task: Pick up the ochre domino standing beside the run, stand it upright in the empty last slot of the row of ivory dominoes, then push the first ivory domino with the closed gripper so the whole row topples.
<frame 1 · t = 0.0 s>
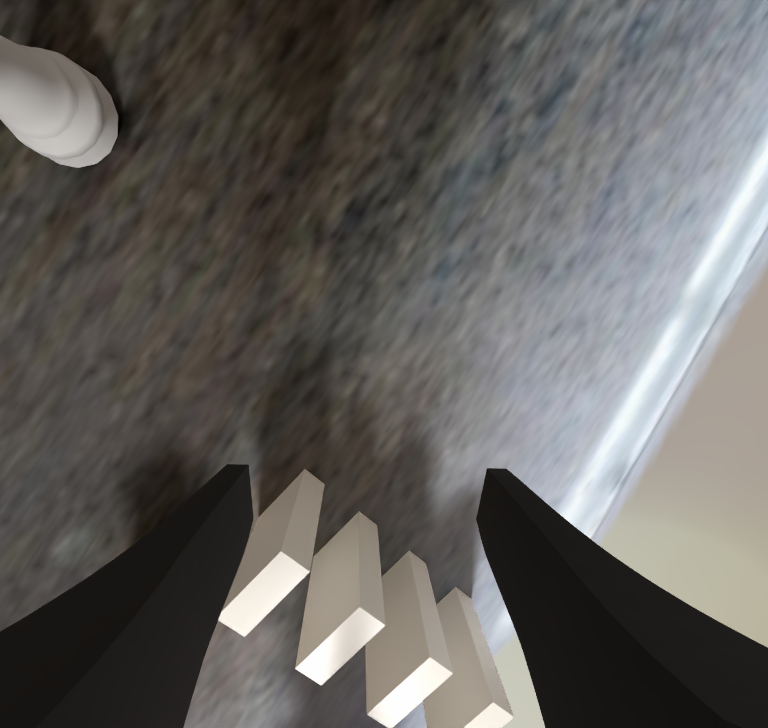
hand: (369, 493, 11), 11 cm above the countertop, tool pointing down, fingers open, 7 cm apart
domino 2: (395, 578, 24), on the countertop
domino 1: (441, 613, 25), on the countertop
rook chess piece: (79, 122, 17), on the countertop
domino 3: (345, 541, 23), on the countertop
domino 4: (291, 500, 22), on the countertop
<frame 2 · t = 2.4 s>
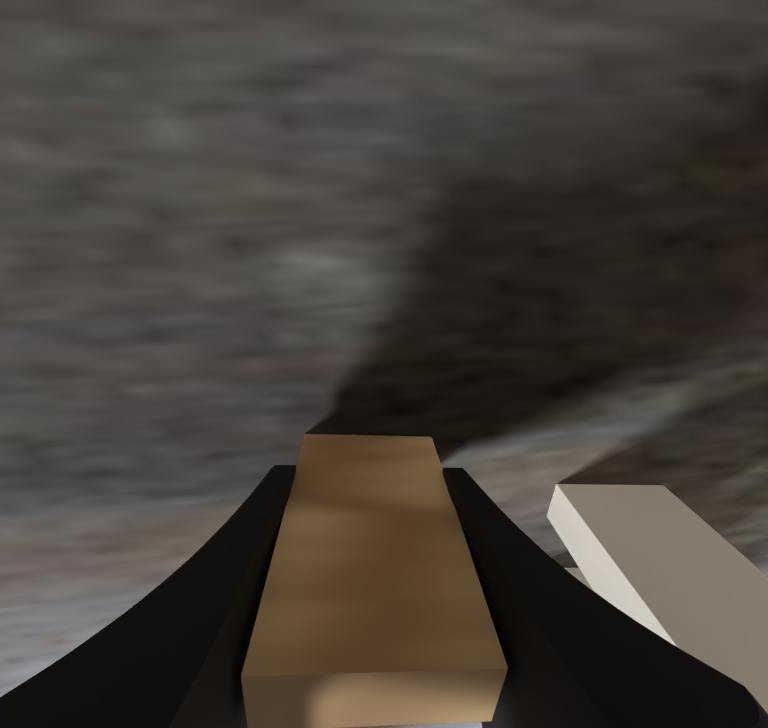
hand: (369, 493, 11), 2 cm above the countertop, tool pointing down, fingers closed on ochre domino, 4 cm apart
ochre domino: (367, 454, 13), on the countertop, touching gripper
domino 4: (604, 500, 14), on the countertop
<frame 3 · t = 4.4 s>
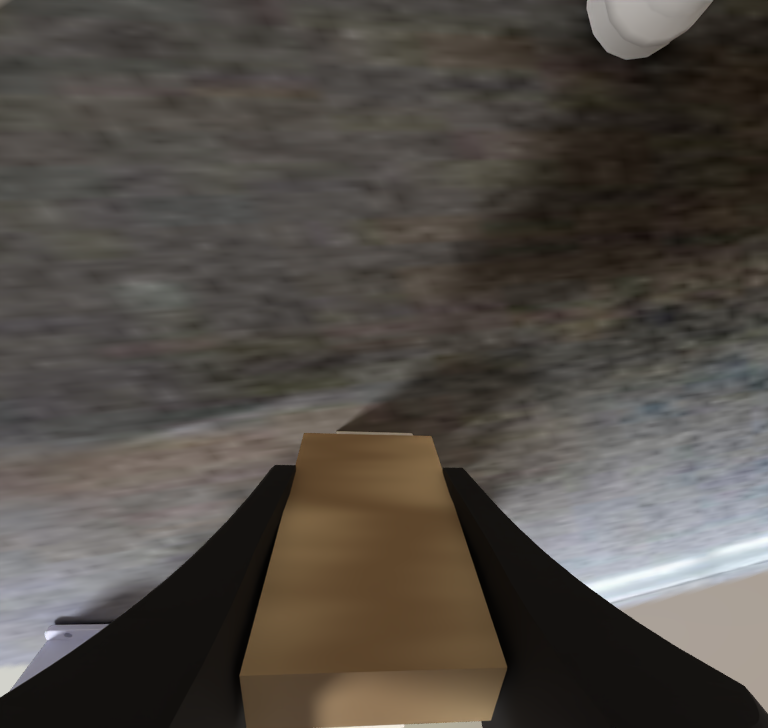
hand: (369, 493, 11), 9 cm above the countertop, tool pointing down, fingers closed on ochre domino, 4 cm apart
ochre domino: (367, 453, 13), point 7 cm above the countertop, touching gripper
when the fingers open (3 cm above the countertop, at t = 6.4 s): ochre domino drops 1 cm, on the countertop.
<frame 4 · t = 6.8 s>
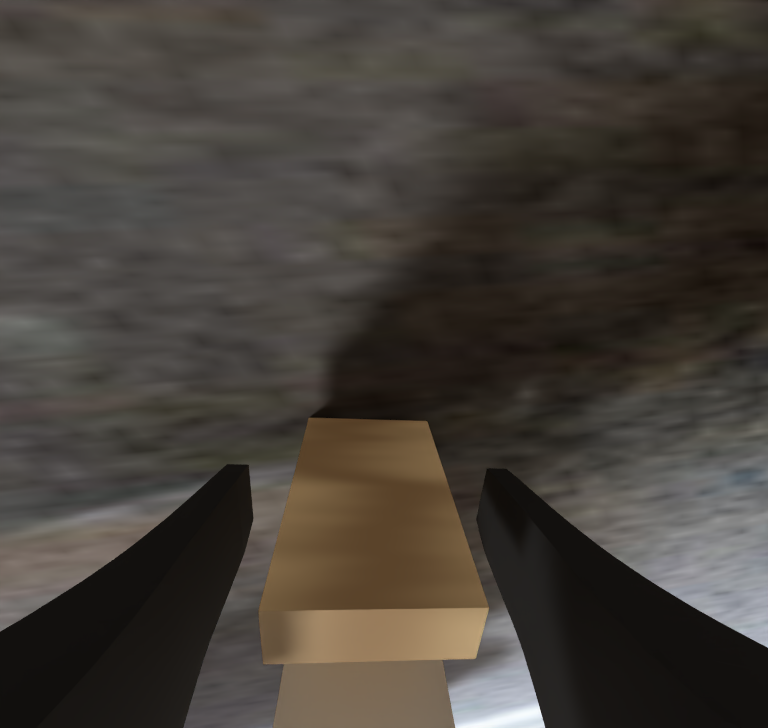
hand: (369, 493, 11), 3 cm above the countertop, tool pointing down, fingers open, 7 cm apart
ochre domino: (367, 437, 14), on the countertop
domino 4: (362, 528, 15), on the countertop
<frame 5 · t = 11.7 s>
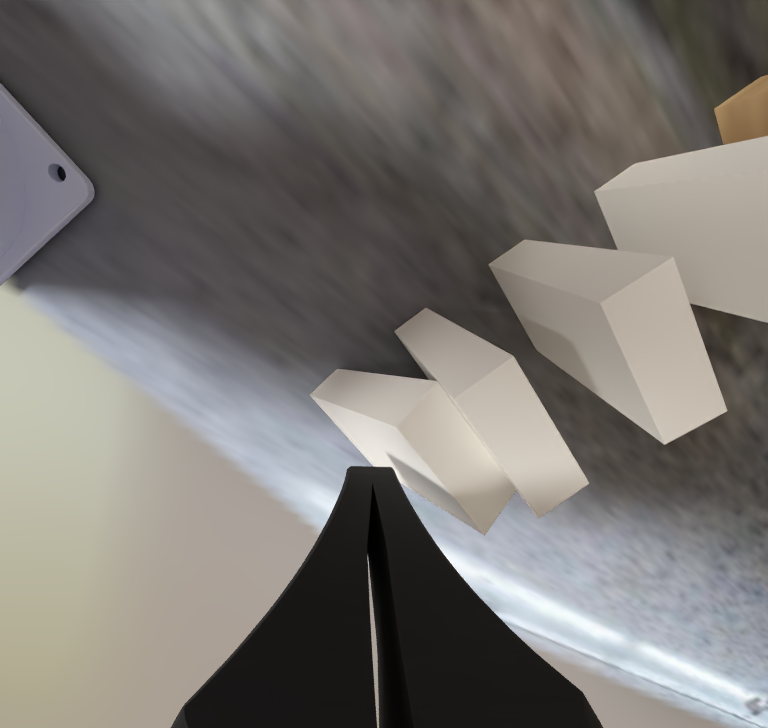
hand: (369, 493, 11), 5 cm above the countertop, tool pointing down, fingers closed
ochre domino: (750, 154, 13), on the countertop
domino 2: (438, 360, 15), on the countertop, tilted 7°
domino 1: (355, 418, 16), on the countertop, tilted 31°
domino 3: (530, 298, 15), on the countertop
domino 4: (634, 230, 14), on the countertop
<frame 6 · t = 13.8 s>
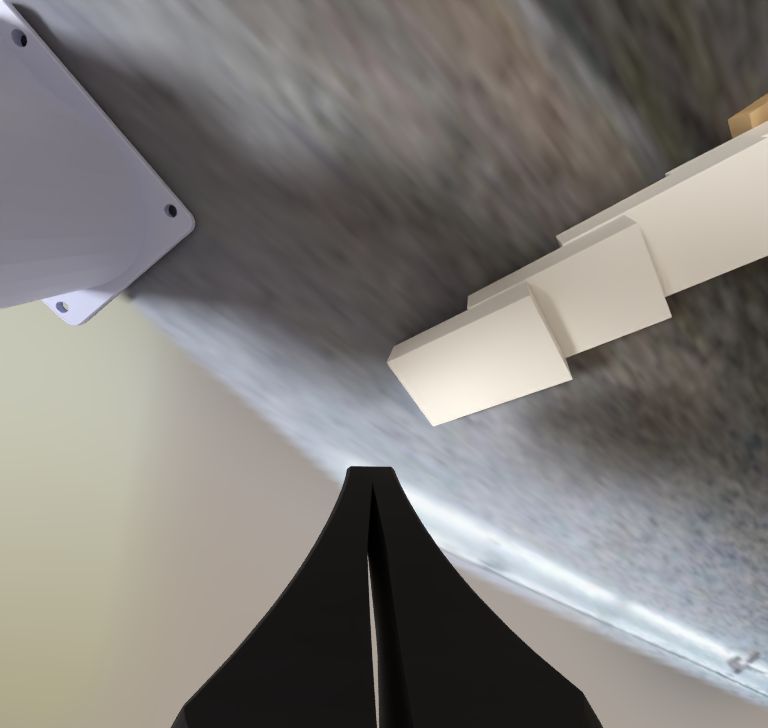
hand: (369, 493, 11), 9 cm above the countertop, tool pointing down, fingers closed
ochre domino: (742, 166, 16), on the countertop, tilted 90°
domino 2: (488, 337, 18), point 1 cm above the countertop, tilted 71°, touching domino 1, domino 3
domino 1: (413, 386, 19), point 1 cm above the countertop, tilted 69°, touching domino 2
domino 3: (576, 280, 17), point 1 cm above the countertop, tilted 71°, touching domino 2, domino 4
domino 4: (685, 221, 16), point 1 cm above the countertop, tilted 75°, touching domino 3
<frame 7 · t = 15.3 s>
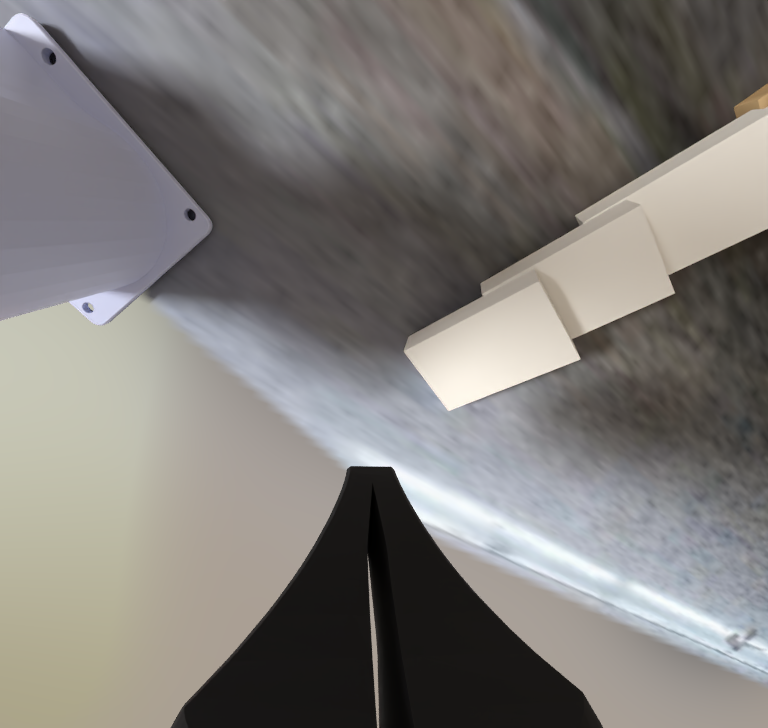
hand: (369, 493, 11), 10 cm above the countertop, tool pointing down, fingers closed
ochre domino: (751, 151, 17), on the countertop, tilted 90°, touching domino 4
domino 2: (501, 322, 19), point 1 cm above the countertop, tilted 73°, touching domino 1, domino 3
domino 1: (428, 373, 20), point 1 cm above the countertop, tilted 70°, touching domino 2
domino 3: (596, 257, 18), point 1 cm above the countertop, tilted 71°, touching domino 2, domino 4
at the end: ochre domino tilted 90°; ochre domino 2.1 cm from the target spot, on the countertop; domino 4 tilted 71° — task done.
